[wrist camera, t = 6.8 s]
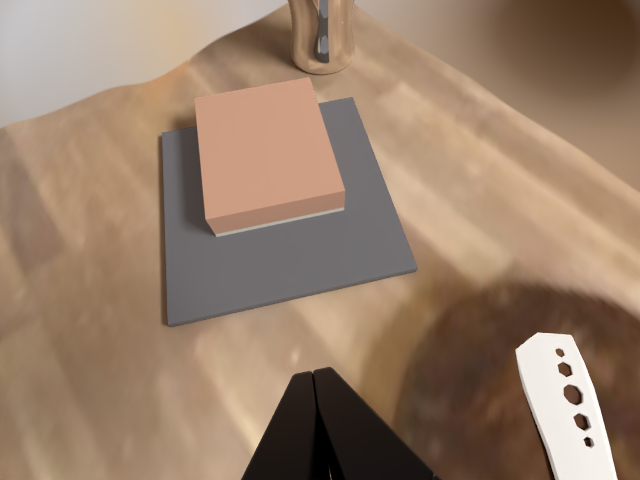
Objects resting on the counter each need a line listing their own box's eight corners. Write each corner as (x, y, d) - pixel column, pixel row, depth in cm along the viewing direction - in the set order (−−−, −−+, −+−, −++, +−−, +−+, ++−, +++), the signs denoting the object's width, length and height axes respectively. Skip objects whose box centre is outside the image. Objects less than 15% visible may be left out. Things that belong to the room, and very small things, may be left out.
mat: (415, 271, 23) (417, 268, 23) (171, 327, 22) (167, 324, 21) (352, 102, 30) (352, 97, 30) (165, 137, 29) (162, 132, 28)
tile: (345, 190, 23) (309, 77, 27) (205, 219, 22) (194, 98, 27) (344, 210, 25) (311, 101, 30) (216, 237, 24) (204, 121, 29)
